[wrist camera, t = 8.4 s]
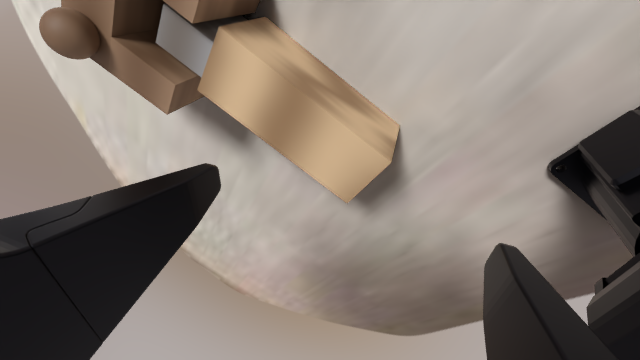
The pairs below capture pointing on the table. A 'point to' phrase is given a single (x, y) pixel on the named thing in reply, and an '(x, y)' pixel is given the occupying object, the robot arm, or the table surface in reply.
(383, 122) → the bed rail
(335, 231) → the table surface
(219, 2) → the arched block with knobs
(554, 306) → the robot arm
